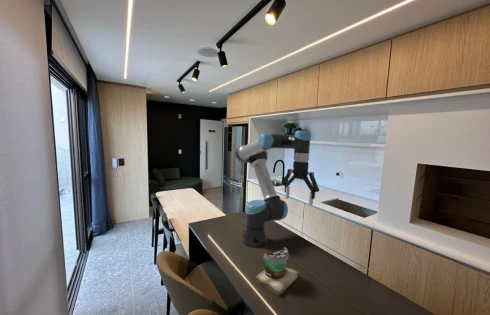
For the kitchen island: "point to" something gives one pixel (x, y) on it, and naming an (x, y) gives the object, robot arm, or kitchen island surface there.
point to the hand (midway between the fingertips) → (298, 201)
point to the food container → (276, 263)
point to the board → (277, 281)
